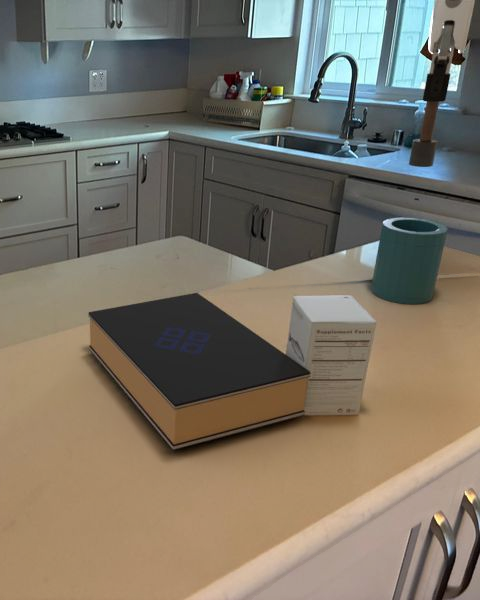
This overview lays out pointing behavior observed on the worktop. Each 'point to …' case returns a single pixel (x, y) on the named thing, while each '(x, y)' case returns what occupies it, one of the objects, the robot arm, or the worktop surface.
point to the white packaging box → (331, 351)
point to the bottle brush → (425, 139)
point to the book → (196, 369)
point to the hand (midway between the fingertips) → (433, 99)
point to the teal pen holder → (408, 260)
